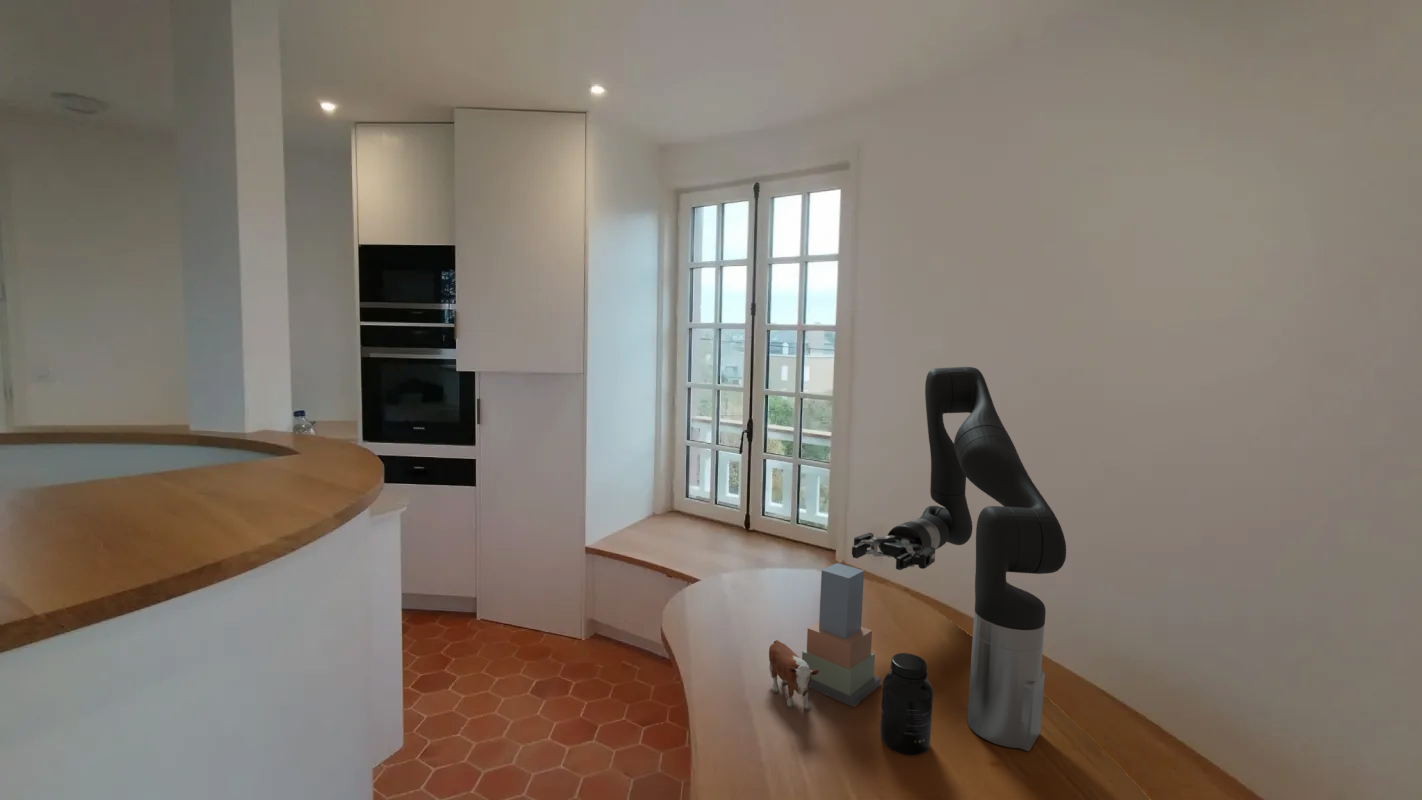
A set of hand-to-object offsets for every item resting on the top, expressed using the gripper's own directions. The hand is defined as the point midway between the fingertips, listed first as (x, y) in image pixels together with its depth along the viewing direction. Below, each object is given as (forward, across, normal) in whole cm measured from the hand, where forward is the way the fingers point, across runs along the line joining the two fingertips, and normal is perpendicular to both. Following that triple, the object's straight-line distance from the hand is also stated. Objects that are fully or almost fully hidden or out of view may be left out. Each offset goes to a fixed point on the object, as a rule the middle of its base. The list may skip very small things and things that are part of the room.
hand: (875, 558), depth 111 cm
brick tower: (+13, 0, +18) cm, 22 cm away
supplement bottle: (+20, +16, +18) cm, 31 cm away
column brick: (+13, +1, +9) cm, 15 cm away
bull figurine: (+22, -2, +18) cm, 29 cm away
